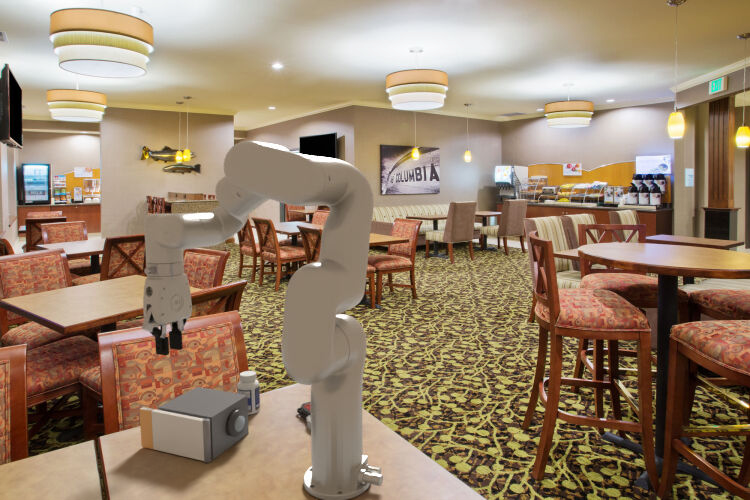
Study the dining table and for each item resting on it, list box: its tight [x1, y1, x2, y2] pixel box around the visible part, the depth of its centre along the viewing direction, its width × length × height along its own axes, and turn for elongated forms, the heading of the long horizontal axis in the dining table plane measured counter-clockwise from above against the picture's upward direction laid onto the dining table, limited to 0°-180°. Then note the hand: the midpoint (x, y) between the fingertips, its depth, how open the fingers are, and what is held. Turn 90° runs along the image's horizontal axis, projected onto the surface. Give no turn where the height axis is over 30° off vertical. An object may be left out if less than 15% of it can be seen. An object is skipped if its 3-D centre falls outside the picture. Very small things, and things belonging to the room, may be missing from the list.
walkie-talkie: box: [296, 400, 311, 431], centre depth 114 cm, size 9×4×20 cm
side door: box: [139, 406, 213, 464], centre depth 101 cm, size 18×1×9 cm, turn 69°
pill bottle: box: [236, 370, 261, 416], centre depth 122 cm, size 5×5×10 cm
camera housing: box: [157, 386, 249, 461], centre depth 107 cm, size 16×12×9 cm
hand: (169, 350), depth 109 cm, fingers open, 3 cm apart
